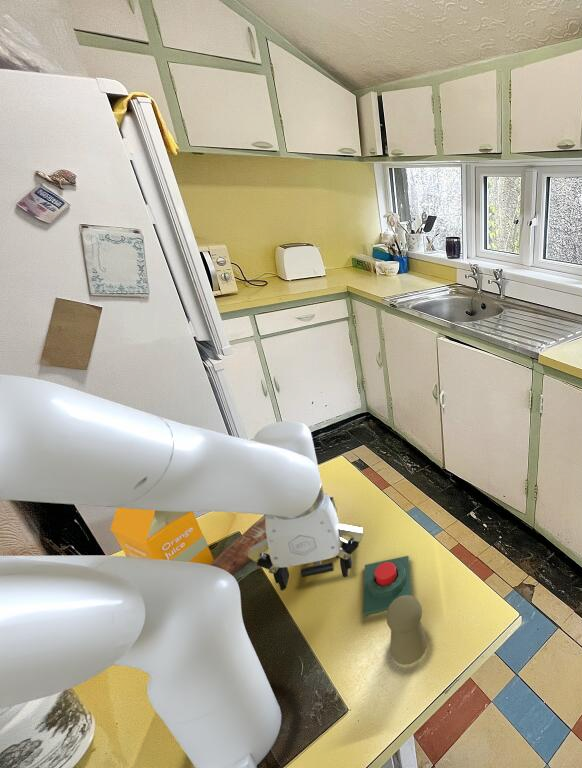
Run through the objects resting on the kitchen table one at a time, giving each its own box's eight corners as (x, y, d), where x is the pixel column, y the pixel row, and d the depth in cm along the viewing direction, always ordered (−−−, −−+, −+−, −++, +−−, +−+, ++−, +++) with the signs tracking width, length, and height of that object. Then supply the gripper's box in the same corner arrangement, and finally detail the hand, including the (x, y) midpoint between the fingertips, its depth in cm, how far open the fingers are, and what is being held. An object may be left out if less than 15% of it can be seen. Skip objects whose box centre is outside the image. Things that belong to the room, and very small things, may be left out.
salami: (298, 530, 87) (292, 510, 85) (207, 606, 72) (197, 584, 69) (277, 520, 89) (270, 501, 87) (184, 592, 74) (173, 571, 71)
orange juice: (185, 554, 81) (147, 474, 72) (218, 567, 79) (183, 486, 70) (142, 587, 74) (94, 504, 65) (176, 603, 72) (131, 518, 63)
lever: (334, 572, 72) (331, 568, 70) (303, 579, 70) (299, 575, 69) (335, 507, 79) (332, 502, 77) (306, 512, 78) (303, 507, 76)
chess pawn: (436, 649, 66) (432, 604, 61) (405, 680, 62) (398, 635, 57) (413, 625, 69) (407, 581, 64) (382, 653, 65) (373, 608, 60)
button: (397, 583, 72) (396, 576, 71) (375, 588, 71) (374, 581, 71) (396, 566, 75) (395, 559, 75) (375, 571, 74) (374, 564, 74)
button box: (413, 609, 72) (410, 594, 70) (364, 621, 70) (361, 606, 68) (409, 563, 80) (407, 548, 78) (366, 572, 78) (363, 558, 76)
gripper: (225, 525, 58) (253, 608, 65) (354, 504, 63) (368, 583, 70) (240, 491, 65) (265, 570, 72) (357, 474, 69) (369, 550, 76)
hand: (316, 576), depth 71 cm, fingers open, 9 cm apart
